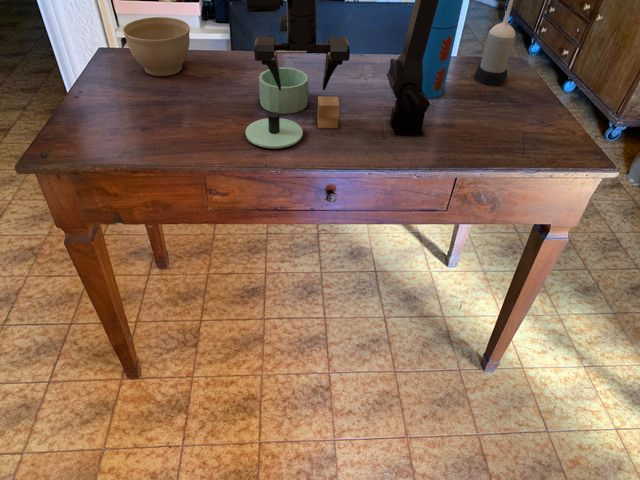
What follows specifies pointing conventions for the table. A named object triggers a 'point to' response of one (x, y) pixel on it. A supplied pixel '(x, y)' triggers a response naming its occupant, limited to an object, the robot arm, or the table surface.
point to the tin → (284, 91)
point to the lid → (274, 132)
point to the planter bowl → (158, 44)
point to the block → (327, 112)
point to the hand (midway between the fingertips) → (302, 89)
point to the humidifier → (496, 53)
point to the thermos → (440, 47)
